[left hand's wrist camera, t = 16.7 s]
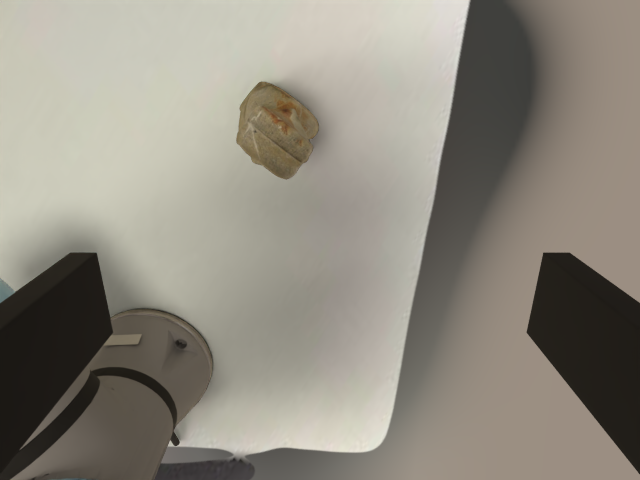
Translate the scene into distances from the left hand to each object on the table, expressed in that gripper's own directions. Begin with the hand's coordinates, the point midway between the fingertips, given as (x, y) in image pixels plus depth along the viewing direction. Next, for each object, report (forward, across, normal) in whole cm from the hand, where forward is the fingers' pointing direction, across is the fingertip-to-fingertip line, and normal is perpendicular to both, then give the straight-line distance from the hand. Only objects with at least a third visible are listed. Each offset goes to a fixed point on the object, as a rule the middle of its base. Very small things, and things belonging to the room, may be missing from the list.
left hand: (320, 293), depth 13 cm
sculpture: (+33, +4, -2) cm, 34 cm away
